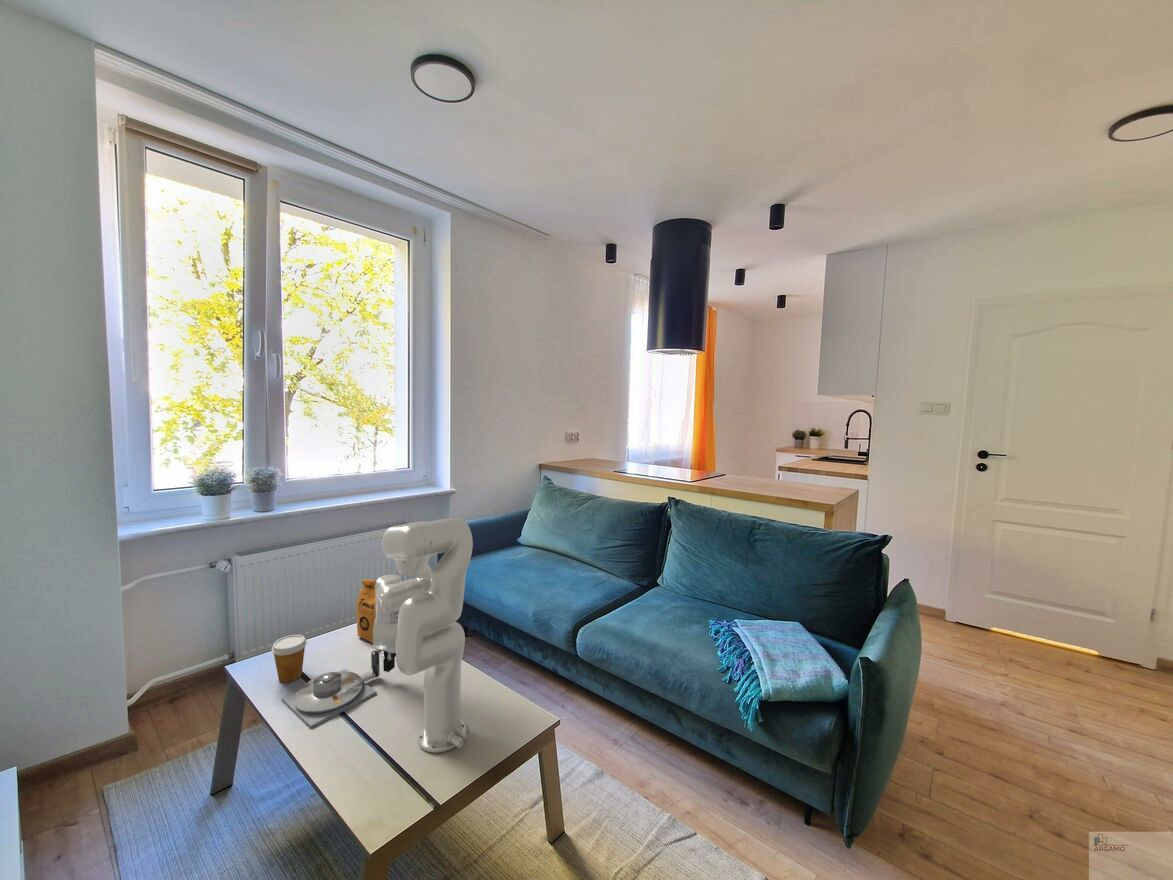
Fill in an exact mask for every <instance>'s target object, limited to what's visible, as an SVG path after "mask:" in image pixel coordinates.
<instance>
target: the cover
mask: <svg viewBox="0 0 1173 880" xmlns="http://www.w3.org/2000/svg"><path fill="white" fill-rule="evenodd" d="M337 672H338V671H329V672H326V673H325V672H324V673H323V674H320V675H318V676H316V677H317V678H316V677H315V678H316V679H315V680H314V681H313V695H314V697H316V698H328V697H331V696H333V695H335V694H337V693H338V692H339V691H340V690H341V688H342V679H341V674H340V673H337Z"/></svg>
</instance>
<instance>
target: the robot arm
mask: <svg viewBox="0 0 1173 880" xmlns="http://www.w3.org/2000/svg"><path fill="white" fill-rule="evenodd" d="M381 539H382V540H381V549H382V552H383V554H384V556H385V557H386V558H388V559H390V560H394V561H395V568H396V570H397V571H398V572H399V573H400V574H401V575H403V576H405V577H407V578H410V579H408V580H407V579H406V580H404V581H402V579H401V577H400V576H399V575H396V574H385V575H381V576H380V577H379V578H377V580H375V581H376V585H375V591H376V618H375V621H374V627H373V643H372V645H373V647H374V649H375V651H379V654H380V656H381V659H382V664H383V668H382V669H383V672H386V673H389V672H391V671H392V670H394V669H395V667H396V665H397V667H398V670H399V672H401V673H402V674H403V675H405V676H413V675H416V674H419V673H421V672H423V671H425V672H424V677H423V725H422V727H421V728H420V730H419V732H418V735H417V743H418V745H419V747H420V748H421V749H422V750H424V751H426V752H429V753H433V754H434V753H444V752H447V751H450V750H452V749H454V748H457V749H461V748H462V747H463V746H464V743H465V742H464V740H466V739H467V738H468V733H467V726H466V723H465V722H464V721H463V720H462V719H461V718H462V717H461V710H462V709H461V708H462V707H461V702H462V701H461V700H462V699H461V698H462V697H461V695H462V693H461V691H462V689H461V687H462V660H463V654H464V649H465V644H466V643H465V642H466V636H465V635H466V634H465V631H464V628H463V627H462V625H461V624H460V623H458V622H457V620H458V619H460V617H461V616H462V612H463V608H464V607H463V605H464V598H465V588H466V576H467V571H468V567H469V565H470V561H471V557H472V553H473V546H474V543H473V534H472V531H471V528H470V526H469V524H468V523H467V521H465V520H463V519H461V518H453V517H452V518H441V519H437V520H432V521H415V522H409V523H404V524H399V525H394V526H391V527H389V528H387V530H385V532H384V534H383V536H382V538H381ZM442 553H443V555H442V556H441V558H440V559H439V560H438V562H437V563H436V565H435V567H434V569H433V570H432V568H431V566H430V564H429V560H430V557H431V556H434V555H438V554H442ZM395 659H396V660H395ZM395 664H396V665H395Z"/></svg>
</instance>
